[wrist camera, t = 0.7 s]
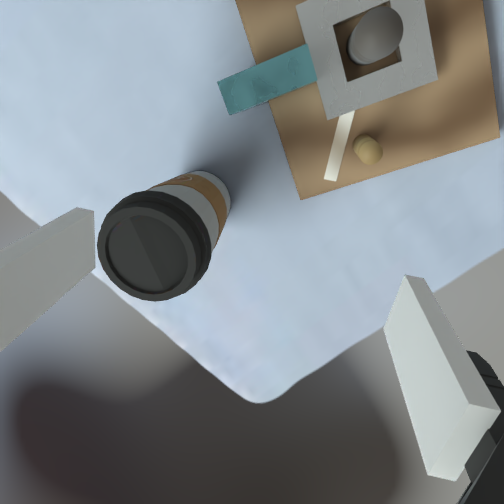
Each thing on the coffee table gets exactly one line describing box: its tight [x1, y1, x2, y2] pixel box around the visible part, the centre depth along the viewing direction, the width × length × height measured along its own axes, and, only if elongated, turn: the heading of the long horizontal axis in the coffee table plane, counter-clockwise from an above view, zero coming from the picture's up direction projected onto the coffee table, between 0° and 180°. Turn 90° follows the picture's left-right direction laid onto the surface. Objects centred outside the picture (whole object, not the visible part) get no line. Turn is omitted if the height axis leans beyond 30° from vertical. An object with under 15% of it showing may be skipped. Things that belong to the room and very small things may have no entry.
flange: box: [217, 0, 438, 120], centre depth 29 cm, size 9×16×6 cm, turn 110°
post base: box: [235, 0, 500, 200], centre depth 28 cm, size 22×18×8 cm
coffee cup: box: [97, 171, 231, 301], centre depth 33 cm, size 8×8×15 cm
